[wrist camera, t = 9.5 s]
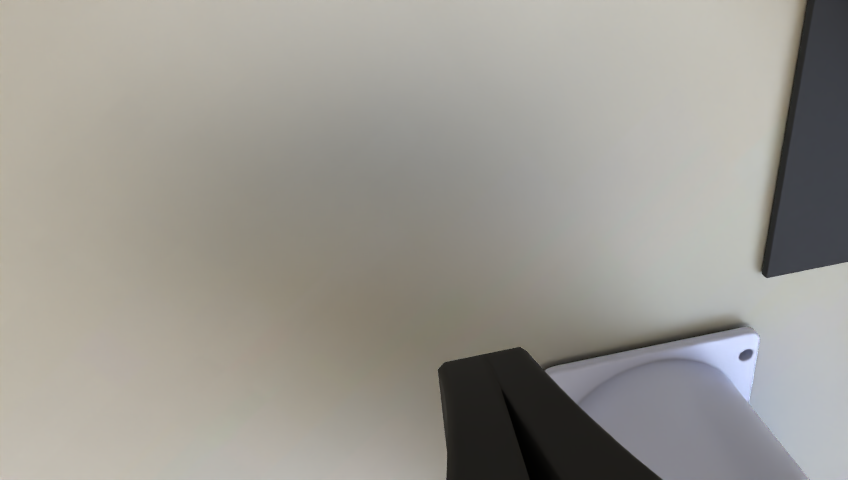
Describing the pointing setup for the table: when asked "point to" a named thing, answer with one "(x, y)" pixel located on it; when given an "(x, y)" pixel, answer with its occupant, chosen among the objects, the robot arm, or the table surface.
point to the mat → (814, 151)
